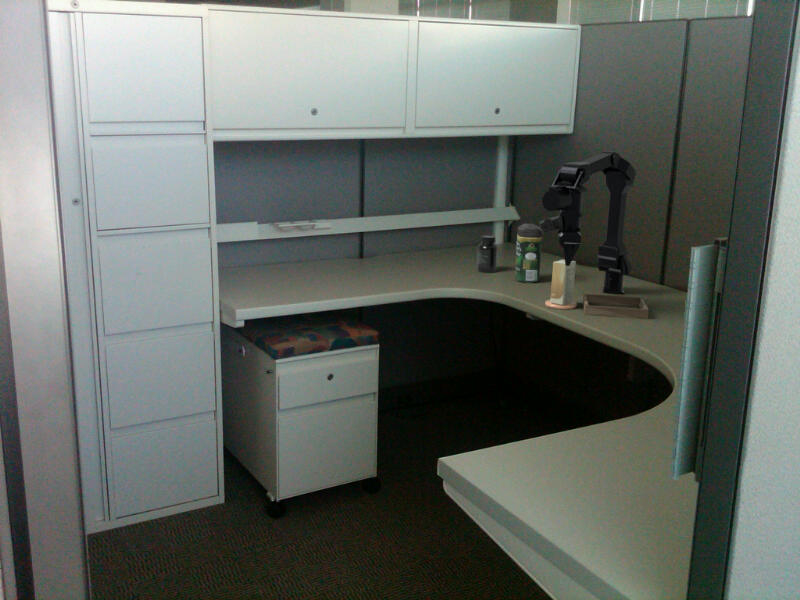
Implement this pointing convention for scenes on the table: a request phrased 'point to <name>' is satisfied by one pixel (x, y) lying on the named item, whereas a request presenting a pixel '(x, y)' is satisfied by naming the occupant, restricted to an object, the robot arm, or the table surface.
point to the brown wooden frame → (615, 310)
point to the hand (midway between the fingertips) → (566, 262)
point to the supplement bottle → (487, 255)
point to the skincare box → (562, 282)
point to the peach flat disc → (557, 306)
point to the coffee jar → (528, 253)
